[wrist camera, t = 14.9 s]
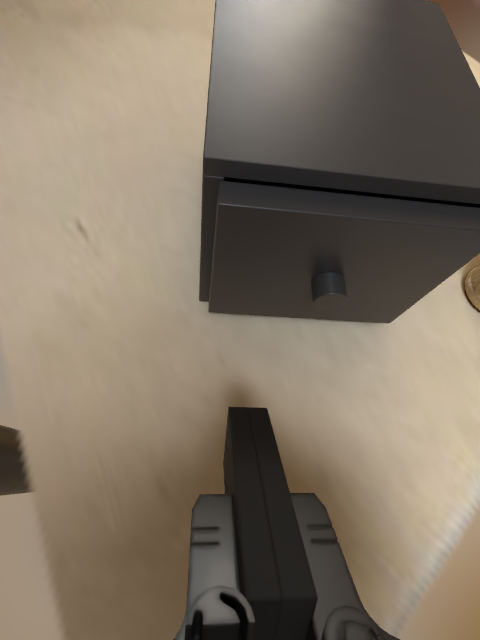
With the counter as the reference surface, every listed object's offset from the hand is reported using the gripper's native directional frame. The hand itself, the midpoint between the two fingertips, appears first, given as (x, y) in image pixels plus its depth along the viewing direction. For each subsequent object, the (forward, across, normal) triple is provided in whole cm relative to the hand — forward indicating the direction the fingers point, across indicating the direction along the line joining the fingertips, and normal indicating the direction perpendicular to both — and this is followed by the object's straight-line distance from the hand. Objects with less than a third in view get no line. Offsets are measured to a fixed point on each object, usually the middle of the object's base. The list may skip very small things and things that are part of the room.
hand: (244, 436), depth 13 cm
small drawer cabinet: (+15, +4, +8) cm, 17 cm away
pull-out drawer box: (+12, +4, +7) cm, 15 cm away
